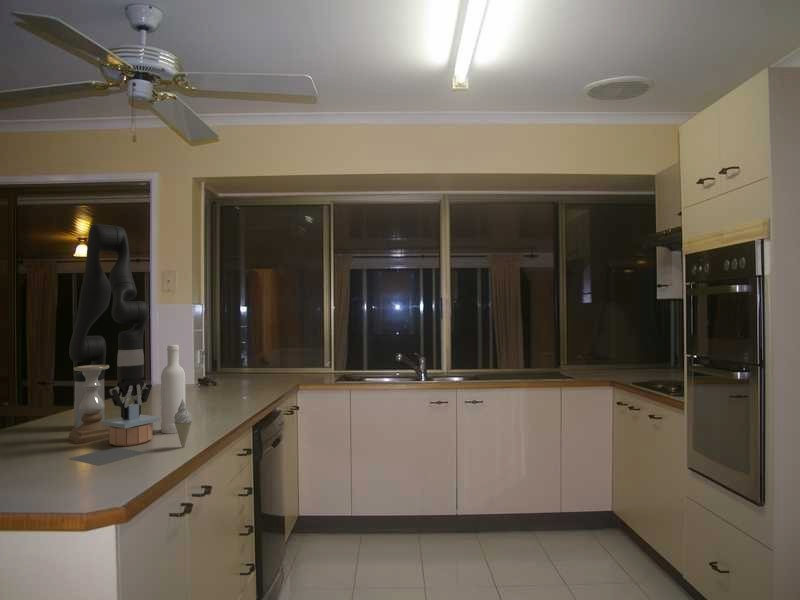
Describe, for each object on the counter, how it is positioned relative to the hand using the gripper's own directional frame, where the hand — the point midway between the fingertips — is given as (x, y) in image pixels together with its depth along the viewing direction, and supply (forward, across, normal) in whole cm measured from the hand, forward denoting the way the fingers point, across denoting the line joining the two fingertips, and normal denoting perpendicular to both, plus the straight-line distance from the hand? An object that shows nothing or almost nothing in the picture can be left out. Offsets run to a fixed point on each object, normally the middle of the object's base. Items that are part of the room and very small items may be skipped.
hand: (130, 417), depth 165 cm
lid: (+2, 0, 0) cm, 2 cm away
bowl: (+8, 0, 0) cm, 8 cm away
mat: (+8, +13, +9) cm, 18 cm away
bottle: (+8, -17, -2) cm, 19 cm away
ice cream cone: (+8, -3, +21) cm, 23 cm away
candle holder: (+8, +2, -18) cm, 20 cm away
